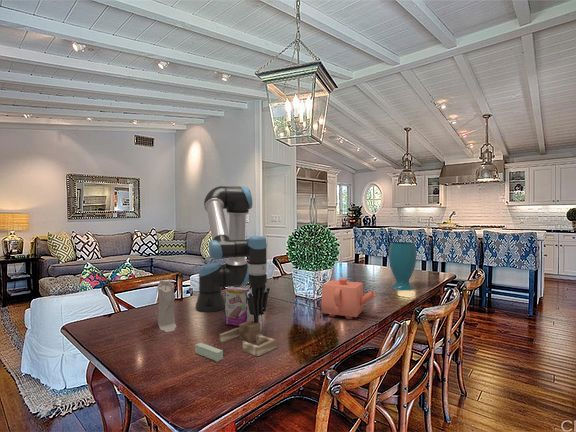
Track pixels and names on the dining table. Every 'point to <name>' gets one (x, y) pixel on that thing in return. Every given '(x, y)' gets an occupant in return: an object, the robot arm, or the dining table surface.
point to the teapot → (344, 298)
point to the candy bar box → (236, 306)
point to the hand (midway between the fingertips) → (258, 330)
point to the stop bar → (209, 351)
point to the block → (249, 331)
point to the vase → (402, 263)
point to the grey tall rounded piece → (166, 306)
